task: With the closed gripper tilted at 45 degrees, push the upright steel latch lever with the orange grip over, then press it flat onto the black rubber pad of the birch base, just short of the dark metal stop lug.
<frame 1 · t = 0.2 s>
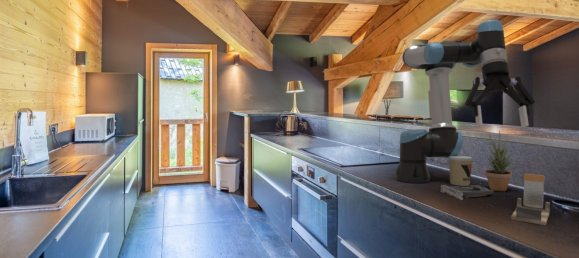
hand: (502, 126, 108), 28 cm above the worktop, tool tilted 20°, fingers open, 13 cm apart
graphics card: (469, 197, 132), on the worktop
latch lever: (533, 191, 110), point 7 cm above the worktop, hinge at 0.0°
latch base: (532, 212, 110), on the worktop
coffee cup: (459, 184, 151), on the worktop, touching arm
potted plant: (498, 189, 140), on the worktop
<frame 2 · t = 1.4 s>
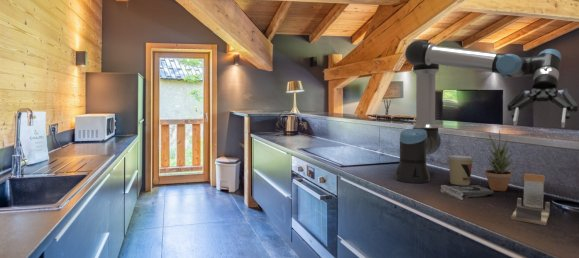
hand: (537, 124, 118), 28 cm above the worktop, tool tilted 45°, fingers open, 13 cm apart
coffee cup: (459, 184, 151), on the worktop
everything else where it was.
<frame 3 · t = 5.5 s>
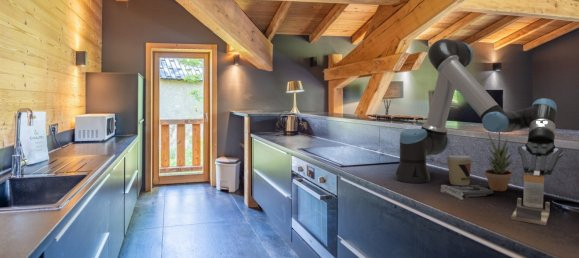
hand: (535, 189, 110), 7 cm above the worktop, tool tilted 45°, fingers closed
latch lever: (533, 192, 109), point 7 cm above the worktop, hinge at 7.3°, touching gripper
potted plant: (498, 189, 140), on the worktop, touching arm
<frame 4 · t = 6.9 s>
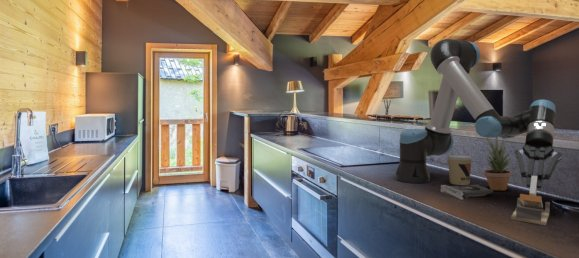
hand: (532, 195, 105), 7 cm above the worktop, tool tilted 45°, fingers closed
latch lever: (531, 202, 107), point 4 cm above the worktop, hinge at 64.1°, touching gripper
potted plant: (498, 189, 140), on the worktop
everything else where it was.
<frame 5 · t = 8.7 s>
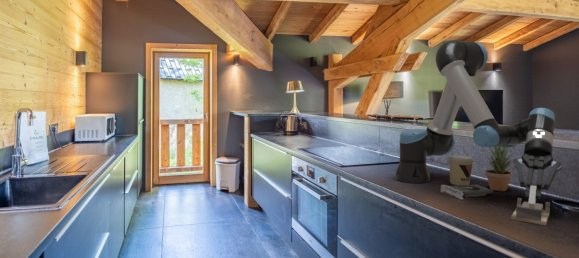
hand: (531, 205, 103), 4 cm above the worktop, tool tilted 45°, fingers closed
latch lever: (531, 209, 107), point 2 cm above the worktop, hinge at 91.7°, touching gripper, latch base
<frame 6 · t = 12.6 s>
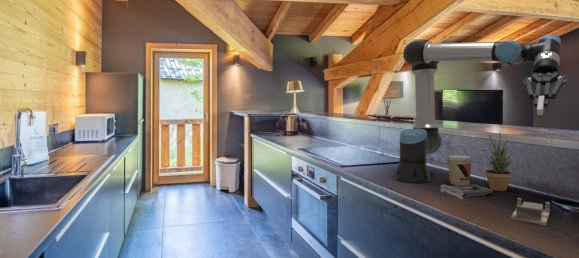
hand: (539, 112, 116), 32 cm above the worktop, tool tilted 45°, fingers closed
latch lever: (531, 209, 107), point 2 cm above the worktop, hinge at 91.7°, touching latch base
at the end: latch lever at +92° (first picture: +0°) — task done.
